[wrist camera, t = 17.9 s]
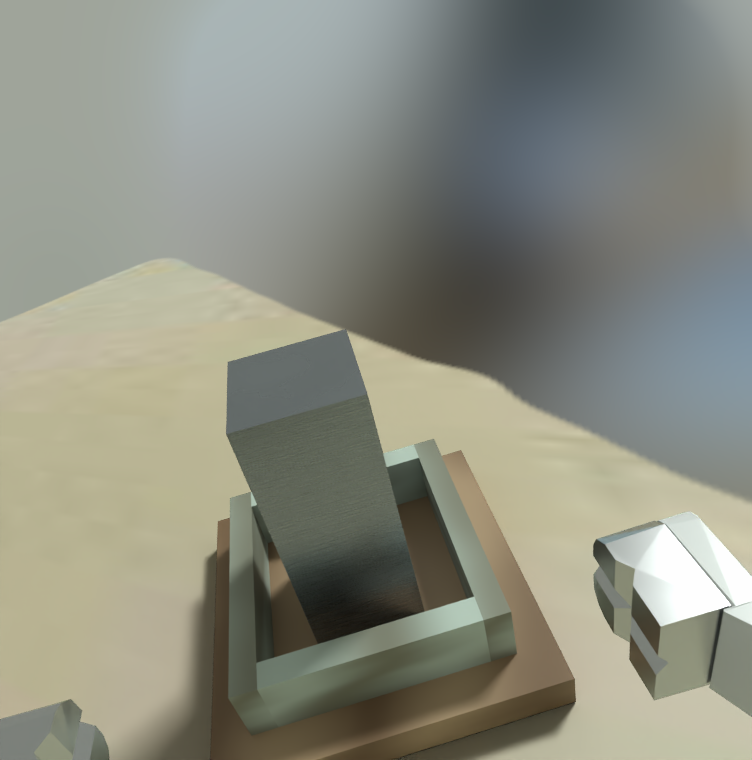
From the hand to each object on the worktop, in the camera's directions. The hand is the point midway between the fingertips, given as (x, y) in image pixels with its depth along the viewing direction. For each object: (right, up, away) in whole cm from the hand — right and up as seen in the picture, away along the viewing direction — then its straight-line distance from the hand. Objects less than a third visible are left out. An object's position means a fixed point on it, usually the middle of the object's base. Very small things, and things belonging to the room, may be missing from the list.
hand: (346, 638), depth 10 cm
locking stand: (0, -6, +18) cm, 19 cm away
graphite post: (0, -5, +17) cm, 18 cm away
